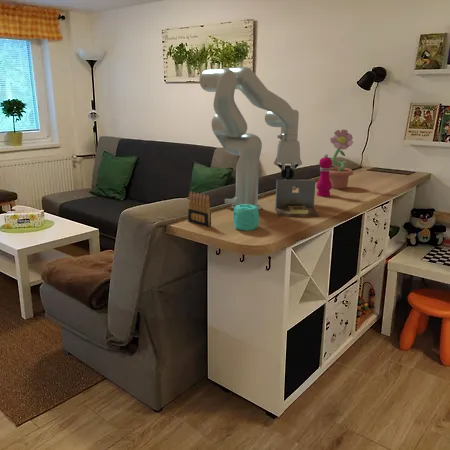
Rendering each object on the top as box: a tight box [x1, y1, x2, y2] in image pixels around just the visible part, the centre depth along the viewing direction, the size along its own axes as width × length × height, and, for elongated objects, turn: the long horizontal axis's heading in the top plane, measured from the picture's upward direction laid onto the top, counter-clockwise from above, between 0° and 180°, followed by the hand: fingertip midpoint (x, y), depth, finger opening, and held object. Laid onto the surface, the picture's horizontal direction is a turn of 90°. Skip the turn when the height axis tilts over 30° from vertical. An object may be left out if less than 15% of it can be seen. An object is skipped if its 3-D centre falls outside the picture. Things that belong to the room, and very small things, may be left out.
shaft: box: [284, 164, 297, 191], centre depth 201 cm, size 3×17×8 cm, turn 3°
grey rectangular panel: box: [275, 179, 316, 209], centre depth 191 cm, size 16×2×12 cm, turn 93°
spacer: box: [288, 206, 308, 214], centre depth 186 cm, size 7×2×7 cm
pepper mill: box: [315, 153, 333, 197], centre depth 219 cm, size 7×7×20 cm
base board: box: [274, 207, 320, 218], centre depth 188 cm, size 16×11×1 cm
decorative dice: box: [232, 204, 260, 232], centre depth 167 cm, size 8×8×8 cm
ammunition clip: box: [187, 191, 212, 228], centre depth 171 cm, size 11×2×12 cm, turn 47°
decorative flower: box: [329, 129, 354, 190], centre depth 235 cm, size 15×14×30 cm
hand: (287, 178), depth 209 cm, fingers closed on shaft, 2 cm apart
